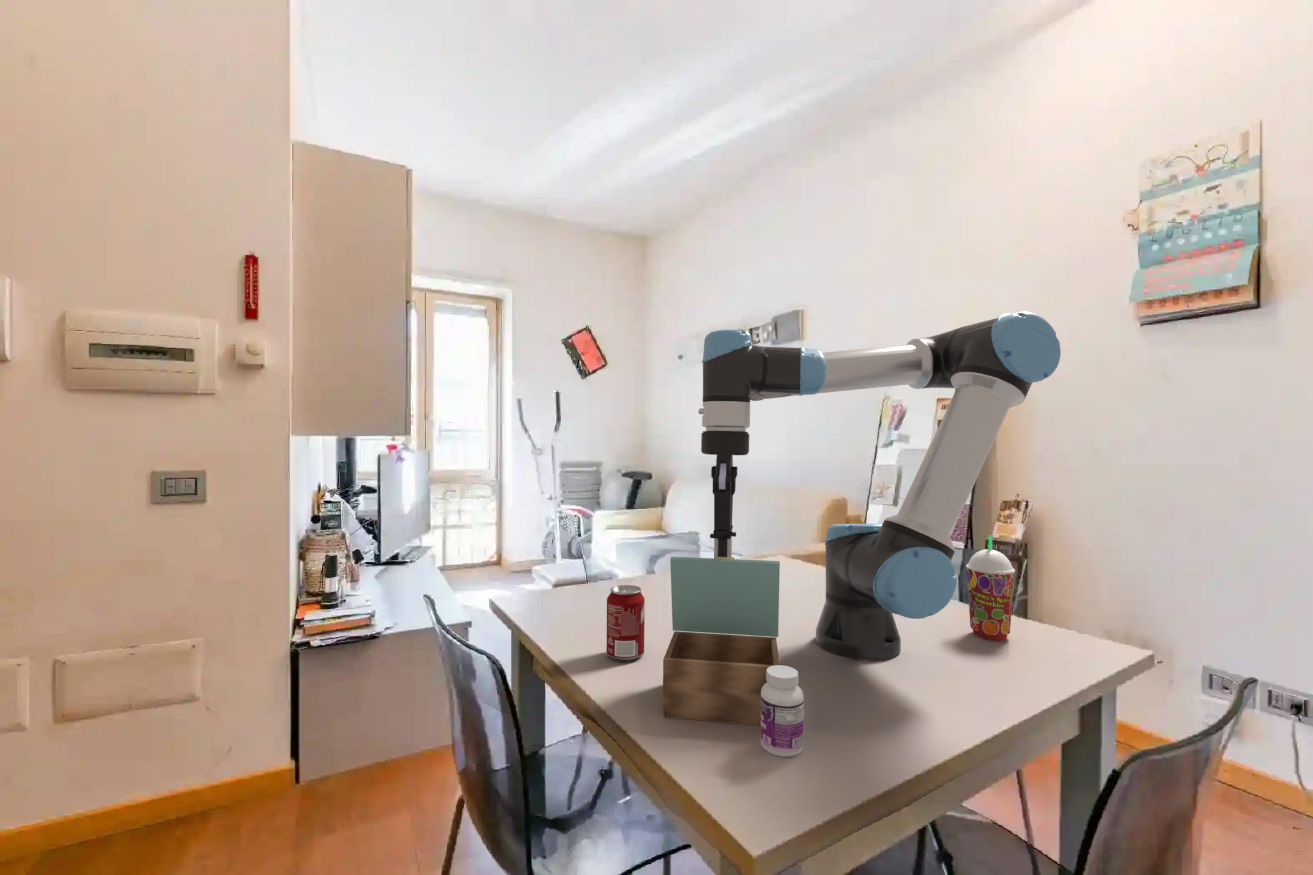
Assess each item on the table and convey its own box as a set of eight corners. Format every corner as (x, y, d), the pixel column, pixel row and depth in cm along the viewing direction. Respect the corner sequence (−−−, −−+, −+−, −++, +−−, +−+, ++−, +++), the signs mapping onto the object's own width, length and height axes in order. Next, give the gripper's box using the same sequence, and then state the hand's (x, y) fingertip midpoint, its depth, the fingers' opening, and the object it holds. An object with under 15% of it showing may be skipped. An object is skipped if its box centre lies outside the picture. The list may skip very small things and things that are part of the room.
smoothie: (968, 640, 112) (969, 537, 112) (963, 627, 120) (964, 531, 120) (1018, 646, 109) (1019, 540, 109) (1010, 632, 116) (1010, 533, 116)
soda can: (639, 664, 99) (639, 595, 99) (601, 661, 100) (602, 592, 100) (647, 650, 105) (648, 585, 105) (612, 647, 107) (612, 583, 107)
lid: (778, 636, 89) (777, 631, 91) (779, 563, 86) (779, 559, 88) (672, 630, 92) (673, 625, 94) (670, 559, 89) (671, 554, 90)
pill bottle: (755, 736, 75) (755, 662, 75) (795, 735, 76) (795, 661, 76) (766, 759, 70) (767, 680, 70) (809, 757, 70) (809, 678, 70)
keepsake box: (775, 688, 90) (776, 637, 90) (779, 726, 78) (780, 667, 78) (674, 681, 92) (674, 631, 92) (662, 716, 80) (663, 659, 80)
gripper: (705, 429, 98) (702, 568, 98) (697, 428, 85) (694, 587, 85) (750, 430, 96) (747, 570, 97) (748, 429, 84) (745, 591, 84)
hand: (722, 578), depth 91 cm, fingers closed
